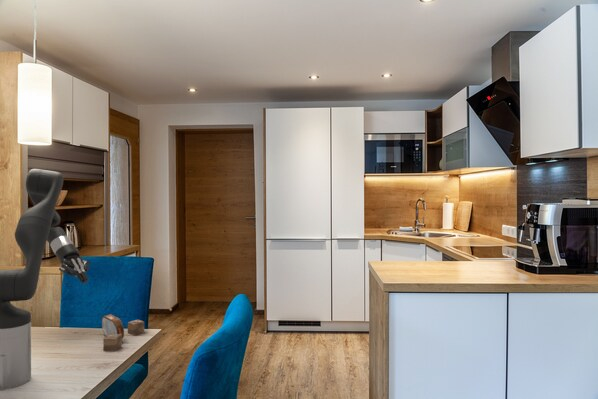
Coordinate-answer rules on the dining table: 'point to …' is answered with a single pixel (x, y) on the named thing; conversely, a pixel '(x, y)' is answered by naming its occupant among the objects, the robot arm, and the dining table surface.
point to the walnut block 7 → (136, 327)
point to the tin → (112, 325)
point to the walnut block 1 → (112, 342)
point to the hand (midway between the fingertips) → (85, 281)
